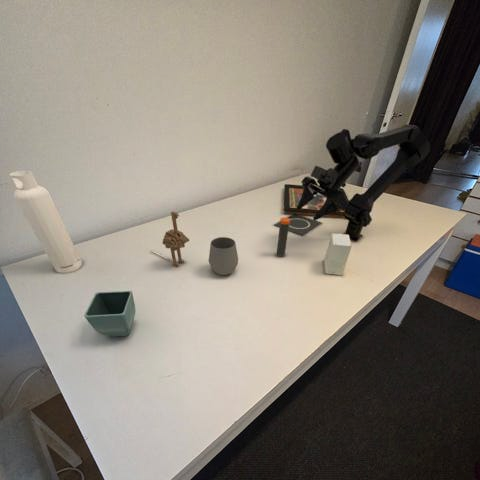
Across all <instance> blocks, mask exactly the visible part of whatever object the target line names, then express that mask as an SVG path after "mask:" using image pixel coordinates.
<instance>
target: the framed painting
mask: <svg viewBox="0 0 480 480" xmlns="http://www.w3.org/2000/svg"><path fill="white" fill-rule="evenodd" d="M283 186H284V188H283V212H284V214H291V215H293V214H297V215H301V216H303V215H304V216H315V215H316V213H317V212H318V211H319V210H320V209H321V207H322V206H323V205H324V204H325V201H326V198H327V197H325V196H323V195H321V194H319V193H317V194H316V195H313V196H314V198H313V199H312V200H311V201H310V202H308V203H307V204H306V205H305V206H304V207H302V208H301V209H300V210H298V209H297V206H298V204H299V201H300V199H301V197H302V194H303V187H302V184H289V183H284V185H283ZM338 191H340V192H343V193H344V194H345V196H346V198H347V200H348V201H349V200H350V199H349V197H348V195H347V193H346V191H345V189H344V188H343V187H340V188H339V190H338ZM322 192H323V191H322ZM339 210H340V209H339ZM344 212H345V210H344V211H342V210H340V211H339V212H338V211H336V212H334V213H331V214H328V215H326V216H325V217H329V218H331V217H332V218H343V219H345V218H344V217H345V213H344Z"/></svg>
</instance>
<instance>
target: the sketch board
mask: <svg viewBox="0 0 480 480" xmlns="http://www.w3.org/2000/svg"><path fill="white" fill-rule="evenodd" d="M286 218H289V219H290V223H289V229H288V232H290V233H293V234H296V235H299V236H301V237H302V236H305V235H306V234H308V232H311V231H312V230H313V229H315V228H317V227H318V226H320V225H322V222H321V221H318V220H314V219H313V218H309V217H306V216H303V215H301V214H291V215H289V216H287V217H286ZM273 225H274V226H275V227H277V228H280V221H278V222H277V223H275V224H273Z"/></svg>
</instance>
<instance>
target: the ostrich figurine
mask: <svg viewBox="0 0 480 480" xmlns="http://www.w3.org/2000/svg"><path fill="white" fill-rule="evenodd" d="M170 216H171V221H172V228H171V229H170V230H168V231H167V230H166V231H165V234H164V236H163V239H162V245H164V247H165V249H170V254H171V255H170V256H171V259H172V265H173V266H175V267H177V268H178V267H179V263H180V264H185V261H184V260H183V258H182V252H181V249H183V248H185V247H186V245H185V244H186V243H189V242H190V238H189V237H188V236H186V235H185V234H184V232H183V231H181V230H179V229H178V224H177V223H178V222H177V219H178V218H179V217H180V214H179V213H178V212H176V211H170ZM151 252H152V253H154V254H157V255H158V256H160V257H162V258H164V259H166V260H168V261H169V260H170V259H169V256H168V257H167V256H166V255H164V254H161V253H160V252H157V251H156V250H151ZM175 252H176V253H175ZM176 255H177V257H176ZM177 259H178V262H177Z"/></svg>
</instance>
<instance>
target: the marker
mask: <svg viewBox="0 0 480 480" xmlns="http://www.w3.org/2000/svg"><path fill="white" fill-rule="evenodd" d="M279 222H280V227H278V229H279V230H278V235H277V237H278V238H277V244H276V253H275V255H276V257H277V258H283V257H285V256H286V255H285V254H286V249H287V240H288V237H289V236H288V235H289V231H288V229H289V223H290V219H289V218H287V217H281V218H280V219H279Z"/></svg>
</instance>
